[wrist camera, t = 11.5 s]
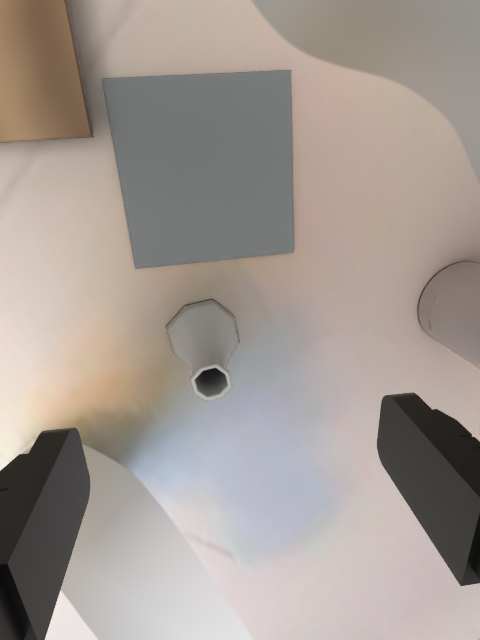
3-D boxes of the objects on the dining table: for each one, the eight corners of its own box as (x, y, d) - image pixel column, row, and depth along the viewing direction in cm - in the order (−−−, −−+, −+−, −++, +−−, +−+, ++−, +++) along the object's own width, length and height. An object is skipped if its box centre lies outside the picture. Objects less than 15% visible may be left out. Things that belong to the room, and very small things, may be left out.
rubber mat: (289, 71, 31) (291, 70, 31) (292, 251, 37) (294, 252, 36) (103, 80, 30) (102, 78, 29) (136, 267, 35) (135, 268, 35)
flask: (152, 323, 38) (145, 372, 28) (215, 286, 37) (228, 323, 28) (192, 377, 40) (196, 437, 31) (250, 342, 40) (272, 393, 31)
